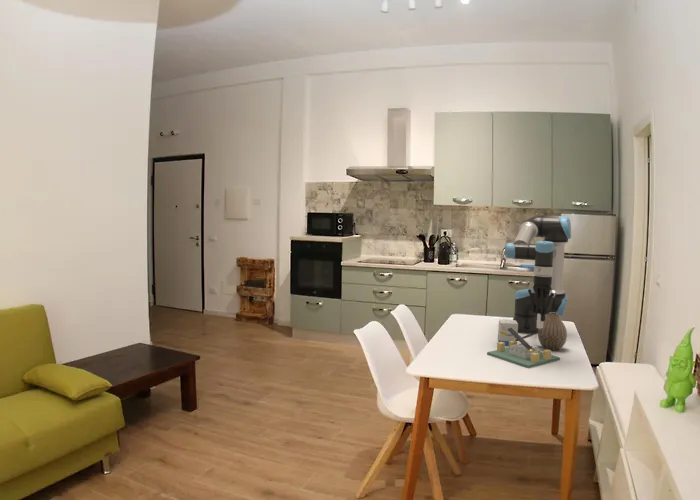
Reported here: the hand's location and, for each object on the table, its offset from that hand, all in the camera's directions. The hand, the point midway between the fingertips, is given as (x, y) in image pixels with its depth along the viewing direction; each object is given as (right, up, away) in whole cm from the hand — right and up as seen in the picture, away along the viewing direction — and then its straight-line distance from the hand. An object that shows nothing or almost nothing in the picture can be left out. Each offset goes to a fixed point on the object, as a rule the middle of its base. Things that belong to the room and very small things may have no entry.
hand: (539, 327), depth 216 cm
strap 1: (-9, -6, 0) cm, 11 cm away
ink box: (-7, -12, +25) cm, 29 cm away
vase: (+13, -13, +19) cm, 27 cm away
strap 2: (-3, -5, +6) cm, 8 cm away
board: (-6, -14, +3) cm, 16 cm away
